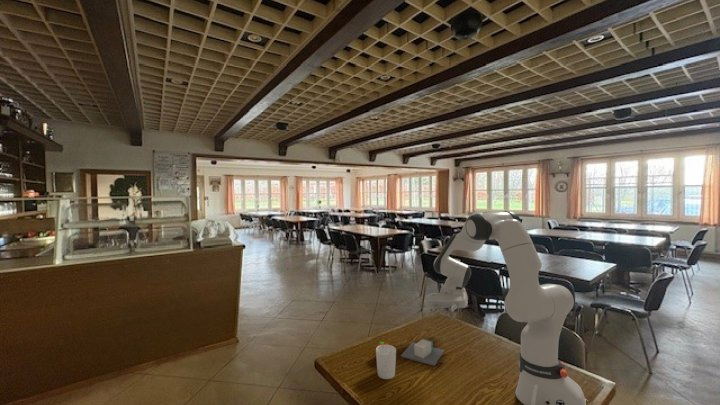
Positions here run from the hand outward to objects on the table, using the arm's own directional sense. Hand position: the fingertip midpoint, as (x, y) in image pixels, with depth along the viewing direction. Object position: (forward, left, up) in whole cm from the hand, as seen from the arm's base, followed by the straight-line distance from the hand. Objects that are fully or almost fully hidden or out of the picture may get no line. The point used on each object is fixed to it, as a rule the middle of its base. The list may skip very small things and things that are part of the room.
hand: (440, 310), depth 143 cm
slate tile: (+5, +9, -17) cm, 20 cm away
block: (+6, +13, -15) cm, 21 cm away
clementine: (+19, +21, -18) cm, 34 cm away
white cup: (+13, +31, -18) cm, 38 cm away
